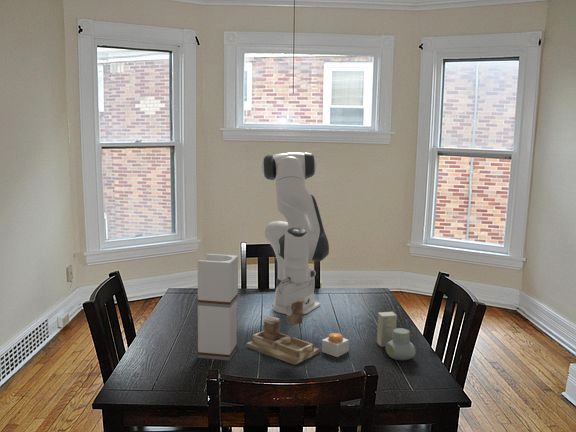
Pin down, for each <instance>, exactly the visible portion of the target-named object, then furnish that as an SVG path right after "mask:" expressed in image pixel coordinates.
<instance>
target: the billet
mask: <svg viewBox="0 0 576 432" xmlns="http://www.w3.org/2000/svg"><path fill="white" fill-rule="evenodd" d="M291 310H293V314H292V315H291V316H288V315H287V314H286V322H287V323H289V324H290V325H294V326H295V325H299V324H303V315H304V314H303V298H300V299H298V301H297V302H295V303H293V304H292V306H291Z"/></svg>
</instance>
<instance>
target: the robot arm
mask: <svg viewBox="0 0 576 432" xmlns="http://www.w3.org/2000/svg"><path fill="white" fill-rule="evenodd" d="M261 162H262V163H261V171H262V173H263V175H264V178H265V179H267V180H270V181H274V180H275V187H276V188H275V190H276V205H277V206H276V207H277V211H278V212H279V214H280V215H282V216H283V217H284V219H285V220H286V221H284V220H274V221H270V222H269V223H268V224H267V225H266V227H265V229H264V238H265V240H266V241H267V242H268V244H270V246H271V249H273V251H274V255H275V257H276V261H277V277H276V287H275V292H274V294H275V295H274V300H273V303H272V306H273V307H272V309H273V311H274V312H276V313H279V314H284V315H286V316H287V315H288V316H291V315H292V314H293V310H291V306H292V304H293V303H295V302H297V301H298V299H300V298H303V314H302V315H307V314H309V313H310V312H312V311H314V310H315V309H317V308H318V307H320V306H321V303H320V302H319V301H317V300H316V298H315V293H314V291H315V285H316V284H315V282H316V281H315V277H316V274H317V272H316V270H314V269H312V268H311V269H310V267H309V266H310V265H309V261H313V262H322V261H324V259H326V257H328V256H329V254H330V253H329V252H330V244H329V240H328V237H327V234H326V232H325V228H324V224H323V221H322V217H321V213H320V209H319V207H318V203H317V200H316V198H315V196H314V195H312V194H311V193H310V192H309V191H308V189H307V187H306V183H305V181H306V180H307V179H310V178H312V177H313V176H314V175H315V173H316V170H317V161H316V158H315V156H314V155H313V153H311V152H307V151H304V152H297V151H296V152H295V151H293V152H292V151H291V152H283V153H282V152H281V153H275V154H274V153H271V154H267V155H265V156H264V157H263V160H262V161H261Z"/></svg>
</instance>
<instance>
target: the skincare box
mask: <svg viewBox="0 0 576 432" xmlns="http://www.w3.org/2000/svg"><path fill="white" fill-rule="evenodd" d="M397 319H398V316H397V314H396V313H395V312H394V311H382V312H381V311H379V312H377V329H376V330H377V331H376V332H377V333H376V343H377V344H378V346H379V347H386V344H387V343H388V342H389V341H391V340H393V330H394V329H397Z"/></svg>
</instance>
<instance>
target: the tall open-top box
mask: <svg viewBox="0 0 576 432" xmlns="http://www.w3.org/2000/svg"><path fill="white" fill-rule="evenodd" d="M205 258H206V260H205V259H204V260H203V259H202V260H201V259H198V260H197V358H199V359H210V360H218V361H219V360H221V361H229V362H230V360H231V359H232V358H233V356H234V355H235V353H236V352H237V350H238V343H237V337H238V336H237V335H238V333H237V332H238V331H237V327H238V326H237V325H238V324H237V323H238V322H237V321H238V319H237V318H238V315H237V314H238V303H239V302H238V301H239V297H238V296H239V292H238V291H239V286H238V285H239V255H235V254H234V255H233V254H220V253H217V254H216V253H206V257H205Z"/></svg>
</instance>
